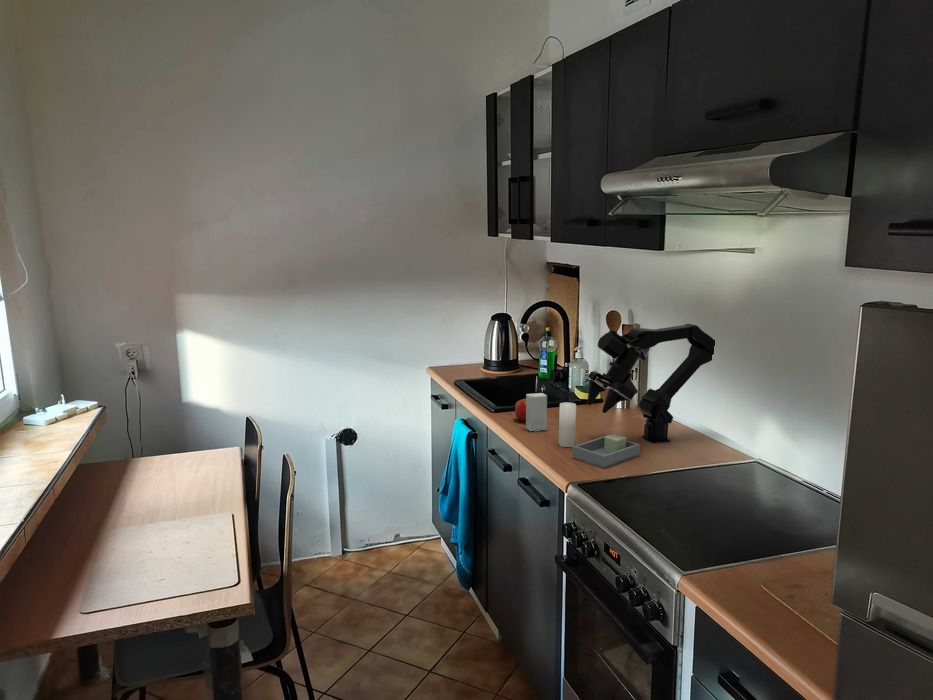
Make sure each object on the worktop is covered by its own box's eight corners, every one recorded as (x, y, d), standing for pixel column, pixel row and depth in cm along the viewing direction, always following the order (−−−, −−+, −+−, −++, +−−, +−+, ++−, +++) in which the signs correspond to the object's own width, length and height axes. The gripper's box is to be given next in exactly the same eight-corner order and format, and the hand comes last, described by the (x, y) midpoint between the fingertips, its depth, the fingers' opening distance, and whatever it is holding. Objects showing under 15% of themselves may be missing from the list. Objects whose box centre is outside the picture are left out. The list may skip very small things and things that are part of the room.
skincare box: (542, 427, 230) (543, 392, 228) (547, 431, 226) (548, 395, 223) (524, 428, 228) (525, 393, 226) (529, 432, 224) (530, 396, 222)
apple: (535, 425, 232) (536, 403, 230) (511, 423, 234) (511, 400, 233) (540, 419, 239) (541, 397, 238) (517, 417, 242) (517, 395, 240)
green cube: (604, 451, 204) (604, 437, 203) (613, 448, 207) (614, 434, 206) (616, 455, 201) (617, 440, 200) (625, 452, 204) (626, 437, 203)
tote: (607, 445, 211) (608, 435, 210) (639, 455, 202) (640, 444, 202) (572, 457, 200) (572, 446, 200) (604, 468, 192) (604, 456, 191)
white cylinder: (571, 442, 215) (572, 401, 212) (577, 447, 210) (578, 406, 208) (556, 443, 214) (557, 402, 211) (562, 448, 209) (563, 407, 206)
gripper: (658, 385, 203) (630, 429, 203) (625, 371, 221) (599, 412, 220) (632, 366, 199) (604, 411, 199) (600, 354, 217) (574, 396, 216)
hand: (595, 408), depth 209 cm, fingers open, 9 cm apart
